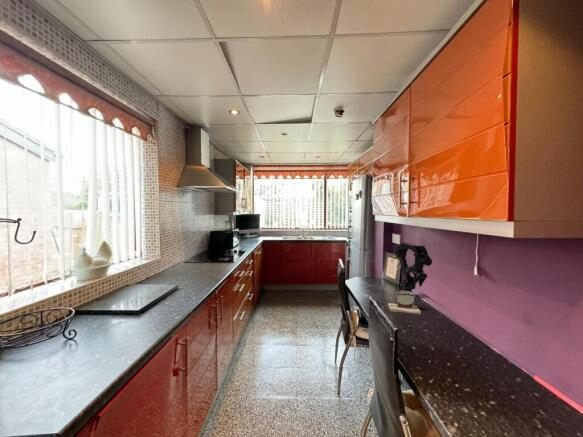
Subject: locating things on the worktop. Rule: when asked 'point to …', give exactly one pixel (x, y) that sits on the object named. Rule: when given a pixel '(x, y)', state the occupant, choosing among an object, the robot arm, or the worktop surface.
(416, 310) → the base board
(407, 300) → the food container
